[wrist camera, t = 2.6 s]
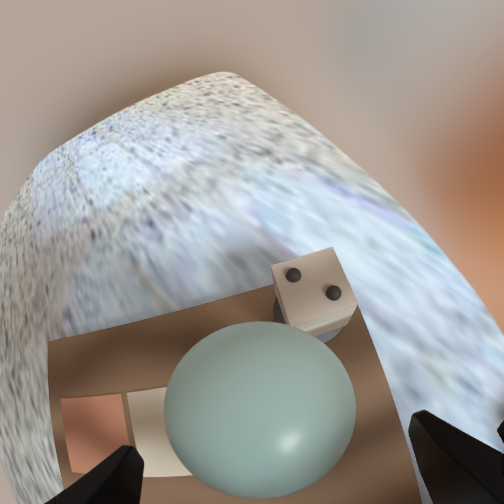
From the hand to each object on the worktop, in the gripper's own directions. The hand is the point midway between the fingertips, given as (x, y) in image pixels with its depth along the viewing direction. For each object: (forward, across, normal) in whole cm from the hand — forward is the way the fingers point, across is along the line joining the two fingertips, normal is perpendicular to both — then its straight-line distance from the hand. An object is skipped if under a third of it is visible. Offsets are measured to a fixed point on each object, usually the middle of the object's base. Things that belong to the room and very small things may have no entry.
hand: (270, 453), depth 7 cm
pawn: (+7, 0, +5) cm, 8 cm away
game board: (+5, +5, +7) cm, 10 cm away
